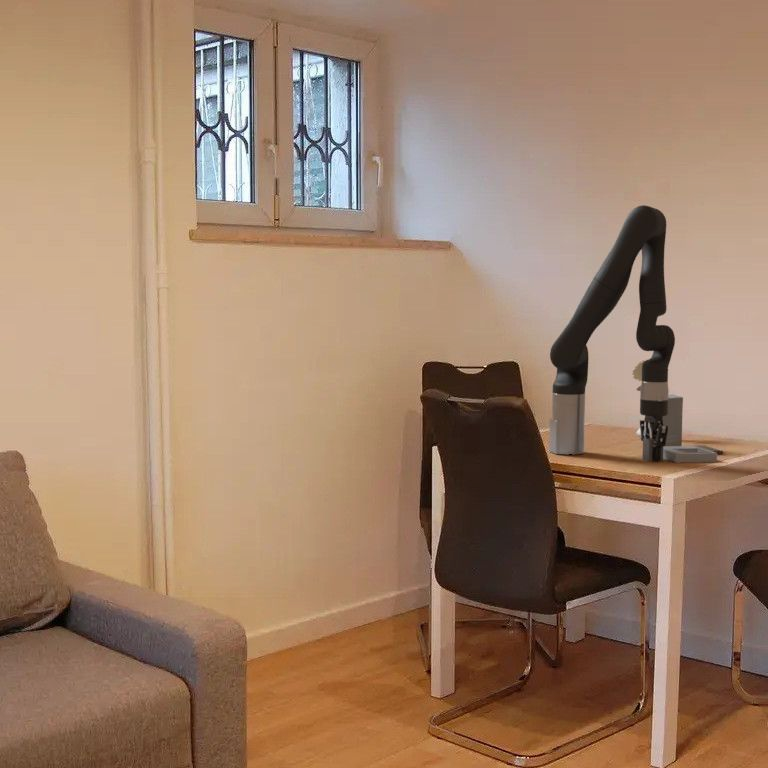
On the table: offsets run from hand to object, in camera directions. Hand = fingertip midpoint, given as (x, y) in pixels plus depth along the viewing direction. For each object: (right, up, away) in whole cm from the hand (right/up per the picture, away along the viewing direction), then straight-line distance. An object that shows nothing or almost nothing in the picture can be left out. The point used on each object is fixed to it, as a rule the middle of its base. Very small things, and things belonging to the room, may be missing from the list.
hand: (652, 459), depth 308 cm
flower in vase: (+10, +3, +42) cm, 44 cm away
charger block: (0, 0, 0) cm, 0 cm away
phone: (+19, +1, +17) cm, 25 cm away
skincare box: (+9, +1, +22) cm, 24 cm away
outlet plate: (+10, 0, +4) cm, 11 cm away
